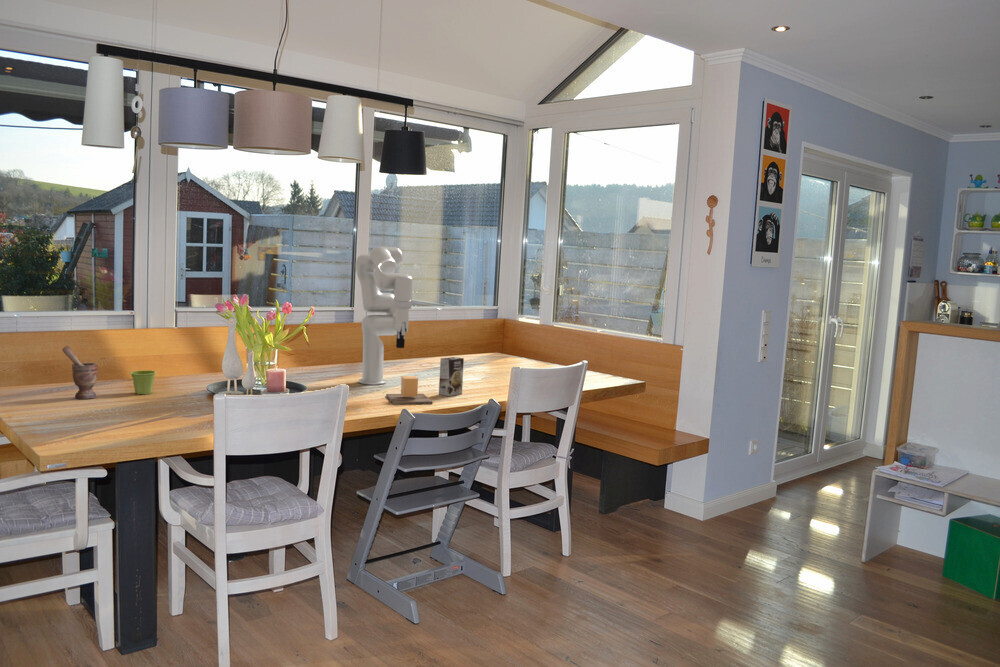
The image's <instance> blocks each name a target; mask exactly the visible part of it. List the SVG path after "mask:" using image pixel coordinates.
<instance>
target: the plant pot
mask: <svg viewBox="0 0 1000 667" xmlns="http://www.w3.org/2000/svg"><path fill="white" fill-rule="evenodd" d="M156 373H157V371H156V370H134V371H131V372H130V375H131V378H132V381H133V382H132V383H133V389H134V394H135V393H137V394H136V395H138V394H139V395H143V394H146V395H150V394H152V393H153V387H154V386H153V385H154V379H155V376H156Z"/></svg>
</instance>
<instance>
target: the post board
mask: <svg viewBox="0 0 1000 667" xmlns="http://www.w3.org/2000/svg"><path fill="white" fill-rule="evenodd" d="M385 396H386V398H387V399H388V400H389V401H390V403H391V404H392V405H393V406H398V405H399V406H400V405H403V406H405V405H406V406H407V405H409V406H410V405H411V406H412V405H413V406H414V405H433V401H432V400H431V399H430V398H429V397H428V396H427V395H425V394H424V393H417V397H403V396H402V395H401V393H386V394H385Z"/></svg>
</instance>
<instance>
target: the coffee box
mask: <svg viewBox="0 0 1000 667" xmlns="http://www.w3.org/2000/svg"><path fill="white" fill-rule="evenodd" d="M464 360H465V359H464V357H463V358H462V357H454V356H451V357H440V364H439V379H438V380H439V384H438V395H442V396H445V397H452V396H453V397H454V396H458V395H462V394H463V386H464V385H463V383H464V382H463V381H464V380H463V379H464V378H463V377H464V365H465V364H464Z"/></svg>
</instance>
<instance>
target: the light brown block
mask: <svg viewBox="0 0 1000 667" xmlns="http://www.w3.org/2000/svg"><path fill="white" fill-rule="evenodd" d="M418 382H419V378H418V377H417V376H415V375H413V376H412V375H409V376H408V375H407V376H406V375H405V376H401V384H400V385H401V386H400V394H401V395H402V396H403V397H417V394H418V392H419V391H418V390H419V389H418V388H419V383H418Z"/></svg>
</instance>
